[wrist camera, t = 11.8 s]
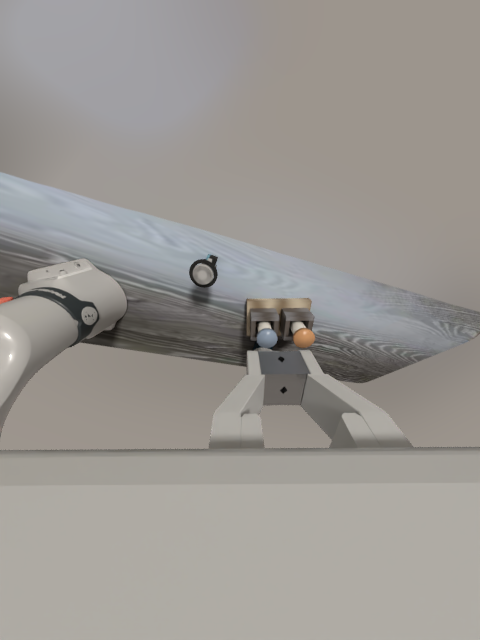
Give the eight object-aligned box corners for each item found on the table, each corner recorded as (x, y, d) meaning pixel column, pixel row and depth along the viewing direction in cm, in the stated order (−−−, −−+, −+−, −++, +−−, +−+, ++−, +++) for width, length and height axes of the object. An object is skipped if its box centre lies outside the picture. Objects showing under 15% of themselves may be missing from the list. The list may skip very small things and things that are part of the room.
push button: (216, 284, 45) (210, 298, 36) (195, 277, 44) (184, 290, 35) (224, 257, 42) (219, 266, 33) (201, 249, 41) (191, 256, 32)
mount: (246, 332, 51) (247, 346, 45) (246, 298, 47) (247, 310, 41) (303, 331, 51) (311, 346, 45) (308, 298, 47) (319, 309, 41)
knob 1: (253, 327, 48) (256, 348, 40) (254, 312, 46) (257, 331, 38) (270, 327, 48) (276, 348, 40) (271, 312, 46) (278, 330, 38)
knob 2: (283, 327, 48) (292, 347, 40) (285, 312, 46) (295, 330, 38) (300, 327, 48) (312, 347, 40) (303, 311, 46) (316, 330, 38)
